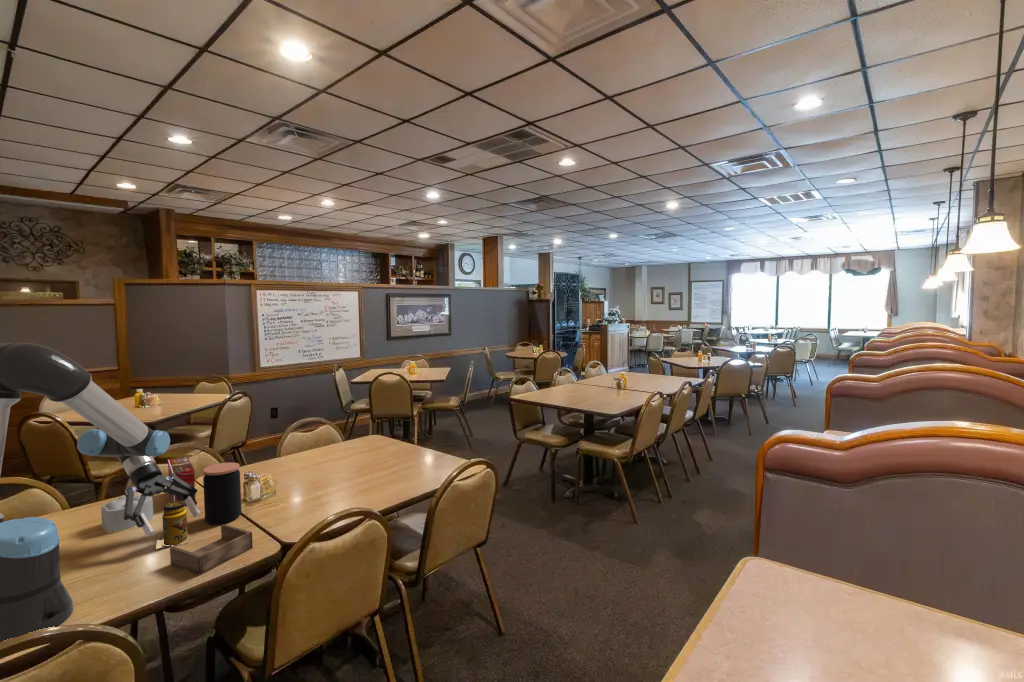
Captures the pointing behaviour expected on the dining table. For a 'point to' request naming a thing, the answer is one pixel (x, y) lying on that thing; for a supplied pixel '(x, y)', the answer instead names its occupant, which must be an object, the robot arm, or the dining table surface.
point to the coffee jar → (222, 493)
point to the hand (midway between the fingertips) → (174, 524)
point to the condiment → (174, 523)
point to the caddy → (213, 551)
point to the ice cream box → (181, 473)
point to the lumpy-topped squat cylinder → (115, 513)
